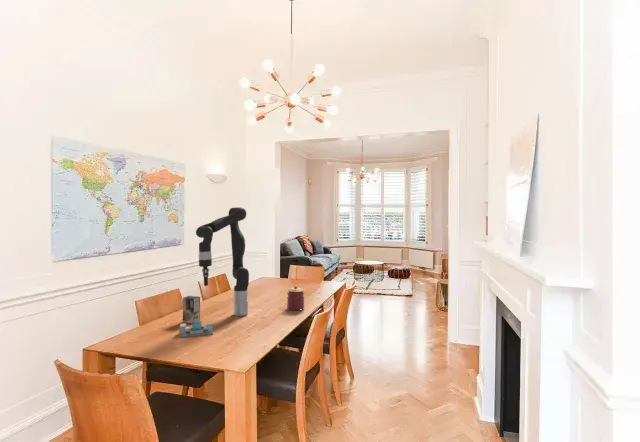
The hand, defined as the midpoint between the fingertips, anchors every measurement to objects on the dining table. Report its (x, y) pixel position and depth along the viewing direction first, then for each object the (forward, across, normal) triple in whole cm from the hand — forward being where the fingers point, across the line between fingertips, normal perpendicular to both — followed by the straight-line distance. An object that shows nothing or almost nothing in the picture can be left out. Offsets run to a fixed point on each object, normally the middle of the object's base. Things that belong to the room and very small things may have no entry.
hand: (205, 284), depth 212 cm
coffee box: (+27, +12, +10) cm, 31 cm away
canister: (+29, +22, -64) cm, 74 cm away
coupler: (+25, -11, +6) cm, 28 cm away
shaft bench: (+26, -11, +6) cm, 29 cm away
